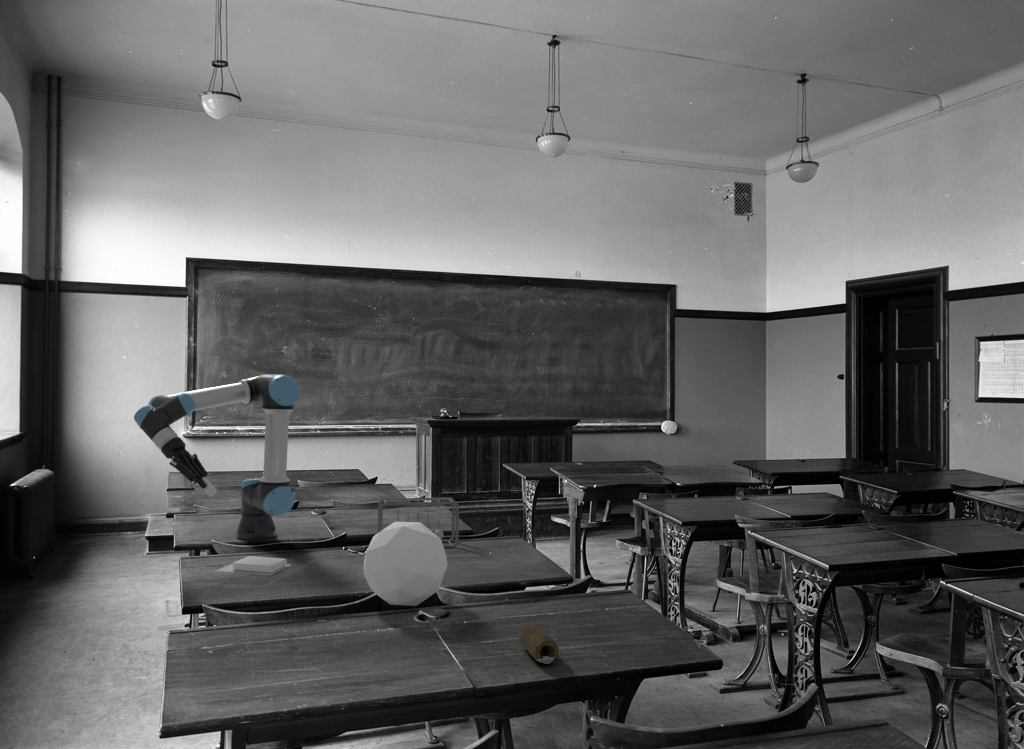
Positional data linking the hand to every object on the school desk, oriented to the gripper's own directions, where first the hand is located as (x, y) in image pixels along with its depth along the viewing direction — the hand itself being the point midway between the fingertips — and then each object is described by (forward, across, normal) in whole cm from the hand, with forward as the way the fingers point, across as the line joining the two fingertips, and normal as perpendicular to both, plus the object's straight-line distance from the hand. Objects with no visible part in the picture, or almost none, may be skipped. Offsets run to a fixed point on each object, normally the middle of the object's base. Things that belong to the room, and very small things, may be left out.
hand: (213, 493), depth 271 cm
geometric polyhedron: (+72, +23, +36) cm, 84 cm away
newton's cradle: (+59, -47, +22) cm, 78 cm away
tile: (+24, +1, -9) cm, 25 cm away
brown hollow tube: (+104, +55, +68) cm, 136 cm away
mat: (+28, +1, -6) cm, 29 cm away
